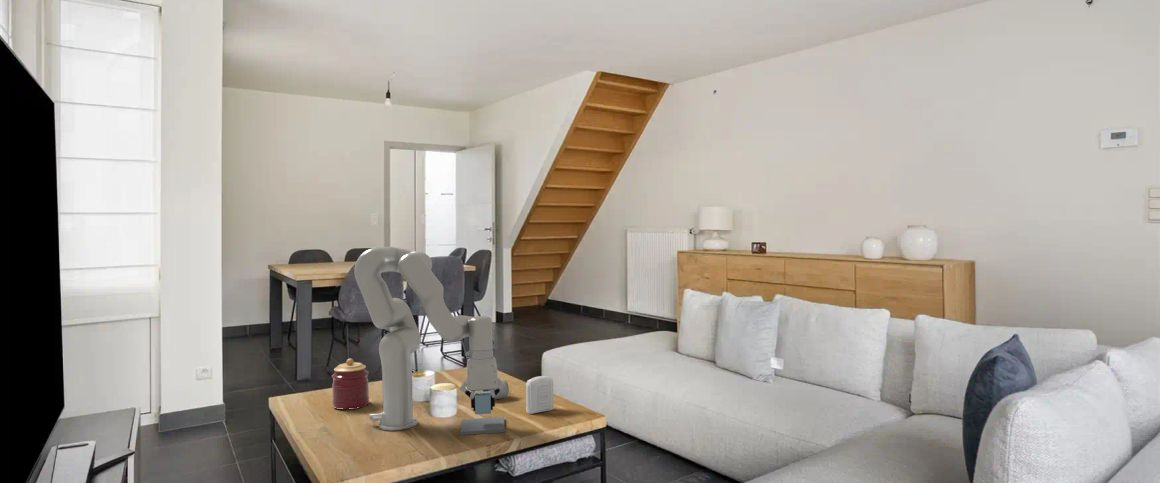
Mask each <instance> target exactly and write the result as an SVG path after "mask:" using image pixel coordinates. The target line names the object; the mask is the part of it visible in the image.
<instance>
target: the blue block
mask: <svg viewBox="0 0 1160 483" xmlns="http://www.w3.org/2000/svg"><path fill="white" fill-rule="evenodd" d="M474 395H475V411H474V412H475V414H474V415H489V414H492V410H491V396H490V391H486V392H483V391H475V394H474Z"/></svg>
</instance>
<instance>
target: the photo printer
mask: <svg viewBox="0 0 1160 483" xmlns="http://www.w3.org/2000/svg"><path fill="white" fill-rule="evenodd" d="M552 410H554V381H553V378H552V377H551V376H547V375H541V376H540V375H539V376H535V377H532V378H530V379H527V381H526V382H525V411H526V413H527V414H529V415H532V414H538V413H543V412H548V411H552Z"/></svg>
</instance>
